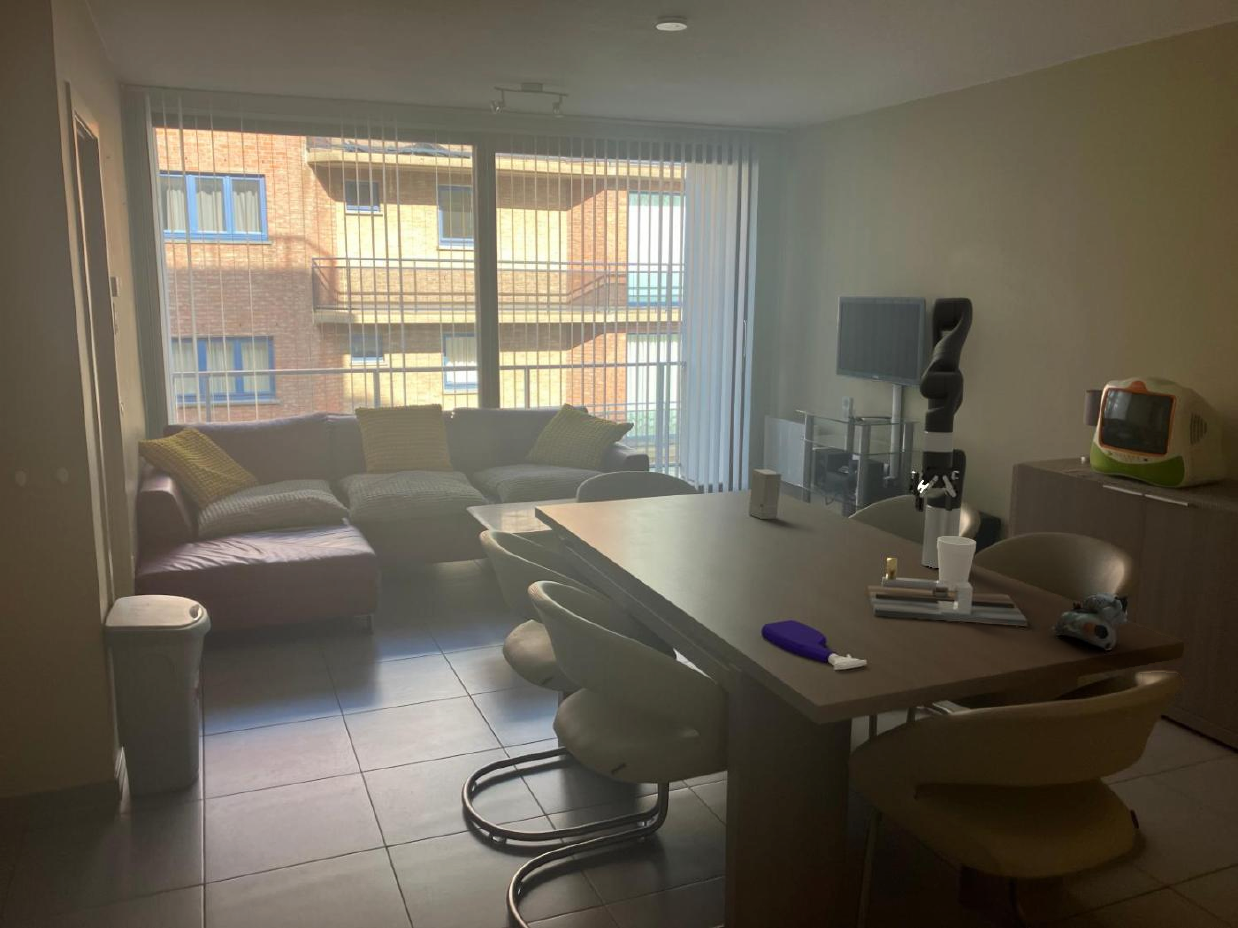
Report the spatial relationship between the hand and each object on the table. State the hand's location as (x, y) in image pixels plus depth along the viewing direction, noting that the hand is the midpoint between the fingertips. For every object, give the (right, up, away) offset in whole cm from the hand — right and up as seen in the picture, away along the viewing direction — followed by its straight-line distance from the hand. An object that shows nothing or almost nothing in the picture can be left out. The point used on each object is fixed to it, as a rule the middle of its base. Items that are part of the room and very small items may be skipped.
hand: (934, 511), depth 259 cm
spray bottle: (-42, -27, -51) cm, 71 cm away
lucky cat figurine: (+20, -27, -41) cm, 53 cm away
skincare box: (-33, -6, +79) cm, 86 cm away
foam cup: (+4, -20, -3) cm, 21 cm away
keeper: (-4, -22, -26) cm, 34 cm away
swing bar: (-9, -18, -13) cm, 24 cm away
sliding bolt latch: (-4, -23, -19) cm, 30 cm away
